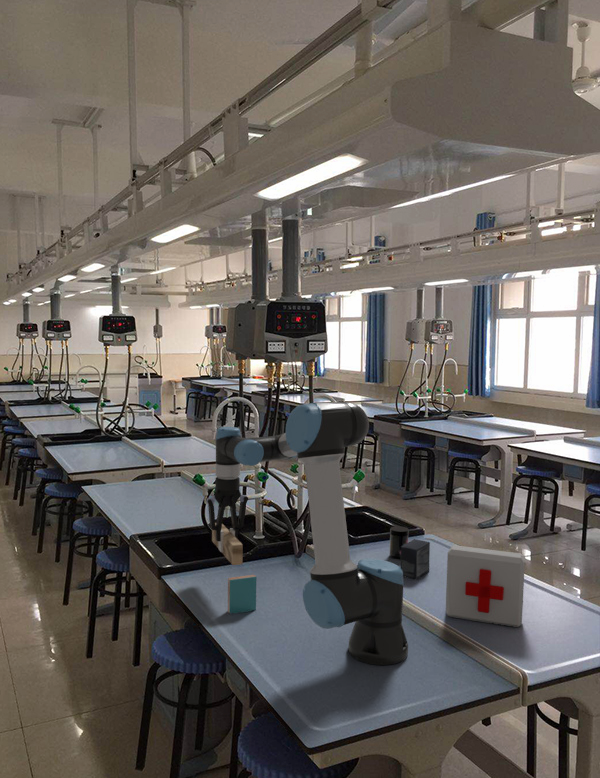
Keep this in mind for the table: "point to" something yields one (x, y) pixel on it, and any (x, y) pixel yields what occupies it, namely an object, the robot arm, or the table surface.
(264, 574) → the table surface
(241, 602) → the tile
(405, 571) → the small box
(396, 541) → the supplement container
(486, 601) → the bevelled white case
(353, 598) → the robot arm
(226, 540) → the push bar
